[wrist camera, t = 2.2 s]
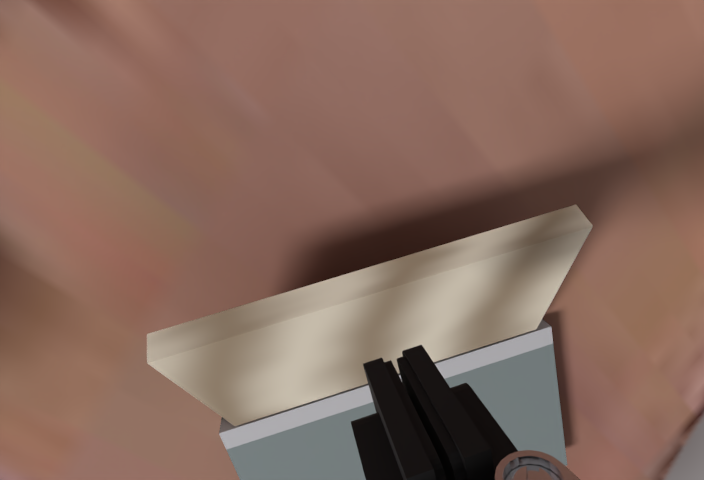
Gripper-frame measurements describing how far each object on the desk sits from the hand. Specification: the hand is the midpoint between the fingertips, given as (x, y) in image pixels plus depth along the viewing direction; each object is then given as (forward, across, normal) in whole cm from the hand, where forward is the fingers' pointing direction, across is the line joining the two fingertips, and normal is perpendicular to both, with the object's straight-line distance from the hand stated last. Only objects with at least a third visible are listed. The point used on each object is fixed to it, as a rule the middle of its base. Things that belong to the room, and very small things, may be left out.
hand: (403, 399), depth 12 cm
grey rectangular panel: (+13, -1, +13) cm, 19 cm away
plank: (+10, -1, +3) cm, 10 cm away
